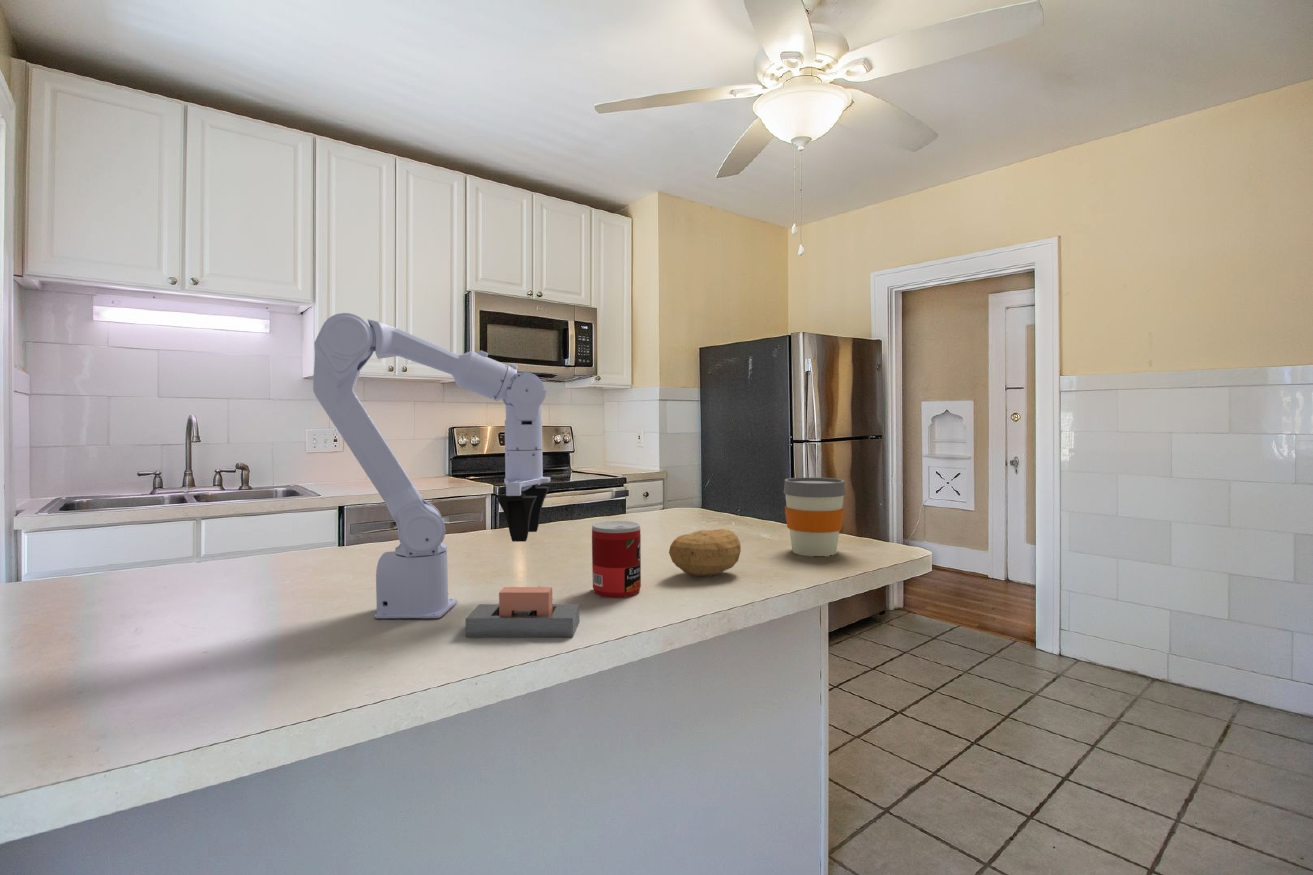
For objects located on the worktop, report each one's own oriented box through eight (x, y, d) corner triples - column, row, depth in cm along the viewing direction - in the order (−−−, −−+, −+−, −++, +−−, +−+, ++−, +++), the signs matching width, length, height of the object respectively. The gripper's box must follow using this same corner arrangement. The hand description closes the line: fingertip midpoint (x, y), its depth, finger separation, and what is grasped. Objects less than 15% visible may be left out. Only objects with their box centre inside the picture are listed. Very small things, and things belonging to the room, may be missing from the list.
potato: (657, 574, 112) (657, 530, 112) (721, 565, 119) (721, 523, 119) (685, 587, 104) (685, 539, 103) (753, 576, 110) (753, 531, 110)
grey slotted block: (465, 637, 81) (465, 618, 81) (479, 621, 87) (479, 604, 87) (573, 637, 81) (572, 617, 81) (579, 621, 87) (579, 603, 87)
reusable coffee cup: (858, 553, 128) (858, 481, 127) (815, 561, 121) (815, 485, 121) (813, 543, 139) (813, 476, 138) (771, 550, 132) (770, 479, 131)
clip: (499, 632, 83) (498, 592, 82) (504, 626, 85) (504, 587, 85) (549, 632, 82) (548, 592, 82) (552, 626, 85) (552, 586, 85)
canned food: (635, 599, 97) (634, 529, 97) (586, 596, 99) (585, 528, 98) (645, 586, 105) (645, 521, 104) (600, 584, 106) (599, 520, 106)
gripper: (539, 452, 90) (541, 545, 90) (557, 447, 104) (558, 527, 105) (491, 452, 90) (492, 545, 90) (515, 447, 104) (516, 527, 105)
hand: (525, 536), depth 98 cm, fingers open, 7 cm apart
